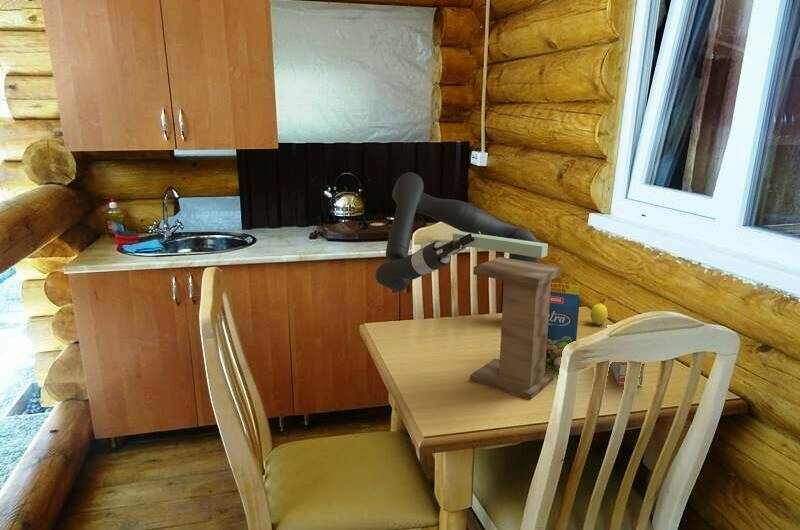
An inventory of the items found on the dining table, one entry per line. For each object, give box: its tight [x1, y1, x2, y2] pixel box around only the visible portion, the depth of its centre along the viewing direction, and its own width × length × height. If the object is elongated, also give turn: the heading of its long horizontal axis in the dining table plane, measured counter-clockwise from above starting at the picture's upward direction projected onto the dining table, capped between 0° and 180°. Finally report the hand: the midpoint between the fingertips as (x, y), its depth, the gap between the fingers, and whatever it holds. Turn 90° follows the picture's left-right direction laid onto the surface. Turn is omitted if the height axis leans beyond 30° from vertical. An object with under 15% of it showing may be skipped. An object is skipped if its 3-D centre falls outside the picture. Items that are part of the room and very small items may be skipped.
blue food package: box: [545, 281, 581, 372], centre depth 159 cm, size 6×12×25 cm, turn 67°
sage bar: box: [452, 230, 549, 259], centre depth 148 cm, size 4×26×3 cm, turn 52°
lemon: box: [590, 302, 609, 326], centre depth 194 cm, size 6×6×8 cm
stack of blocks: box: [605, 325, 645, 386], centre depth 159 cm, size 21×6×12 cm, turn 170°
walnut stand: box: [469, 256, 563, 401], centre depth 150 cm, size 14×18×32 cm
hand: (476, 235), depth 151 cm, fingers closed on sage bar, 3 cm apart
